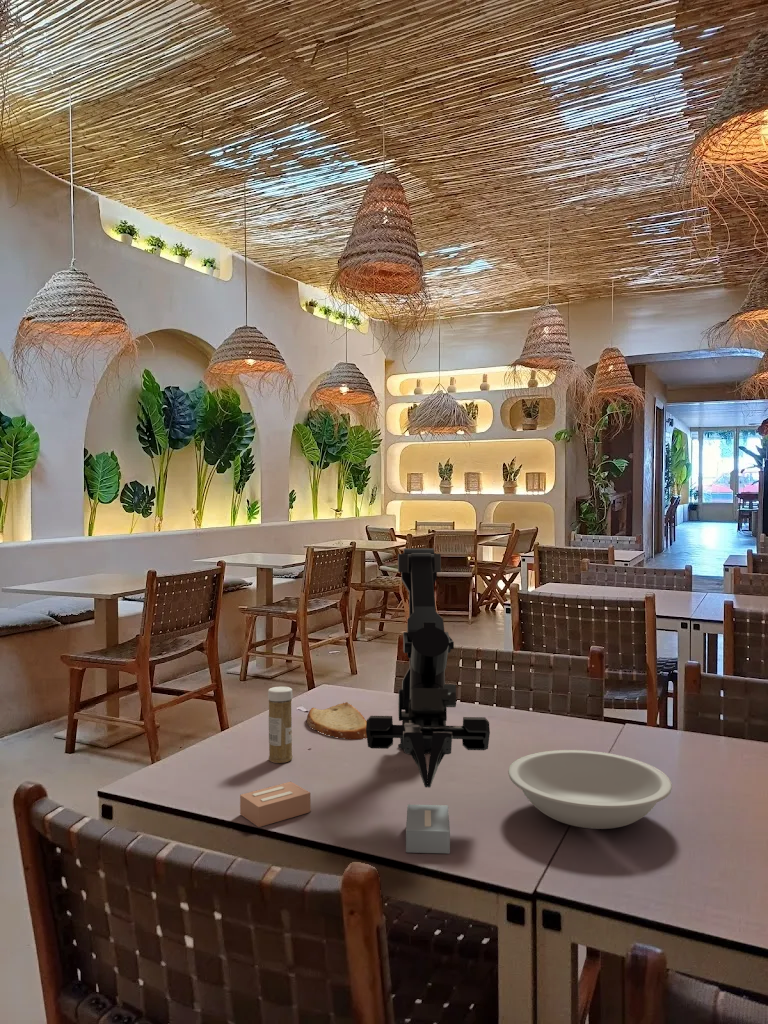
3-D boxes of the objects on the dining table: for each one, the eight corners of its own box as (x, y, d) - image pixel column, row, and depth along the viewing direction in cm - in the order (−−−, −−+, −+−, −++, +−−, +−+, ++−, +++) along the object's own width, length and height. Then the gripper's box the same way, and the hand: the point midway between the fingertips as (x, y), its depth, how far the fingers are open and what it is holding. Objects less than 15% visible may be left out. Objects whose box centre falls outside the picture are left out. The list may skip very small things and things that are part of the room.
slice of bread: (364, 743, 151) (364, 725, 151) (285, 734, 157) (285, 716, 157) (393, 719, 168) (393, 703, 168) (320, 712, 174) (320, 696, 174)
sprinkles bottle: (296, 761, 139) (296, 689, 139) (274, 765, 136) (274, 692, 136) (285, 754, 143) (285, 684, 143) (264, 758, 140) (263, 687, 140)
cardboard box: (290, 780, 120) (240, 793, 115) (310, 791, 115) (258, 805, 110) (290, 801, 120) (240, 815, 115) (310, 812, 115) (258, 828, 110)
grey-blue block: (407, 803, 111) (406, 829, 102) (447, 804, 110) (449, 830, 101) (407, 825, 111) (405, 853, 102) (447, 826, 110) (449, 854, 101)
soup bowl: (622, 783, 127) (622, 745, 127) (706, 846, 104) (706, 799, 104) (488, 793, 123) (487, 754, 123) (543, 861, 99) (543, 812, 99)
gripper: (366, 663, 114) (360, 759, 103) (488, 665, 113) (495, 761, 102) (370, 701, 122) (365, 794, 111) (484, 703, 121) (490, 796, 110)
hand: (427, 786), depth 109 cm, fingers closed
